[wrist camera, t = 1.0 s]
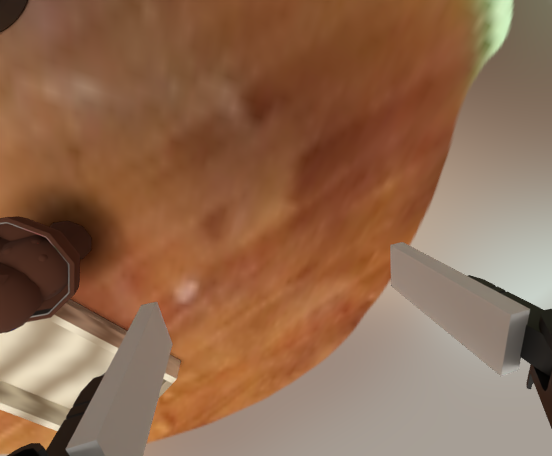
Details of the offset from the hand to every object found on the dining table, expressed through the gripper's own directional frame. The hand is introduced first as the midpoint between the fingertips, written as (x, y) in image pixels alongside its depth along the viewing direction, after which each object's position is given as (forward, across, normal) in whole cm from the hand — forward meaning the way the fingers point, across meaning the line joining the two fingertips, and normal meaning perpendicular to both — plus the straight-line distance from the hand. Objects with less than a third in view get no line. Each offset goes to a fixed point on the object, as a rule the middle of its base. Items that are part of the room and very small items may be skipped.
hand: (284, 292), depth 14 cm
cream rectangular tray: (+23, -29, -18) cm, 41 cm away
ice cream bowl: (+24, -24, 0) cm, 33 cm away
